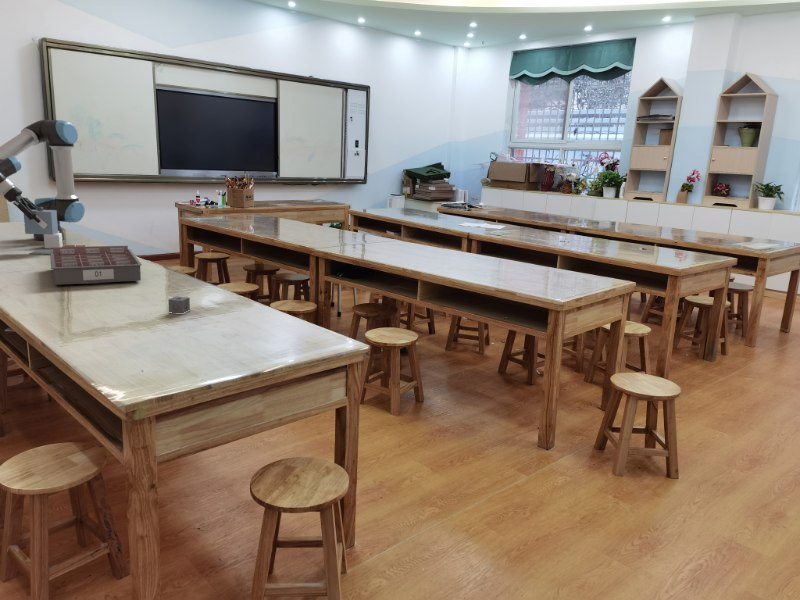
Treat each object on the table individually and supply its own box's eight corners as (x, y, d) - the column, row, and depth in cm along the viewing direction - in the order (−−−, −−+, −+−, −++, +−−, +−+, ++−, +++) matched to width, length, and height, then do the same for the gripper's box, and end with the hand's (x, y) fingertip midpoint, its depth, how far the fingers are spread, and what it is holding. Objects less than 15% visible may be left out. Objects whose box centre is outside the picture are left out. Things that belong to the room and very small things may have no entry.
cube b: (76, 253, 303) (76, 245, 302) (85, 252, 305) (85, 245, 304) (75, 254, 300) (75, 246, 299) (84, 254, 301) (84, 246, 300)
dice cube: (168, 313, 205) (168, 299, 203) (176, 310, 209) (175, 296, 208) (182, 315, 204) (182, 300, 203) (189, 311, 209) (189, 297, 208)
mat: (37, 250, 303) (37, 249, 303) (59, 251, 306) (59, 249, 305) (29, 254, 292) (28, 253, 292) (51, 255, 294) (51, 253, 294)
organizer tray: (52, 288, 230) (50, 263, 227) (51, 269, 263) (49, 246, 261) (143, 284, 246) (142, 260, 243) (131, 266, 279) (130, 245, 277)
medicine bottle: (47, 246, 317) (45, 223, 314) (63, 246, 319) (61, 223, 316) (44, 248, 310) (42, 225, 307) (59, 248, 312) (58, 225, 310)
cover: (31, 231, 298) (29, 206, 295) (58, 232, 301) (56, 207, 298) (25, 233, 291) (23, 207, 288) (52, 234, 293) (50, 208, 291)
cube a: (66, 252, 303) (65, 244, 302) (75, 252, 304) (74, 245, 303) (64, 254, 299) (63, 246, 298) (72, 254, 300) (72, 246, 299)
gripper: (12, 195, 298) (50, 228, 306) (-6, 198, 279) (35, 233, 286) (23, 184, 298) (61, 218, 306) (6, 187, 279) (47, 223, 286)
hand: (48, 225), depth 296 cm, fingers closed on cover, 8 cm apart
